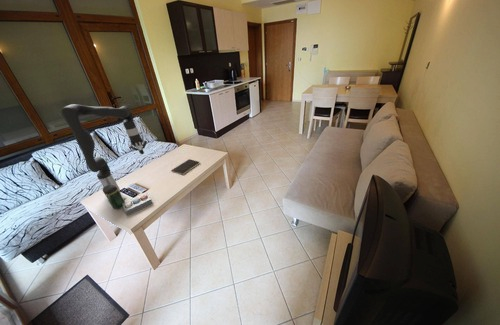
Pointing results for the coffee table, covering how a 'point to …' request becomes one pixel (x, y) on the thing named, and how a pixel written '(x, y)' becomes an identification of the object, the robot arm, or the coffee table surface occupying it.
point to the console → (137, 204)
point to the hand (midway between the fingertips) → (142, 153)
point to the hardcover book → (185, 167)
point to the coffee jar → (113, 196)
